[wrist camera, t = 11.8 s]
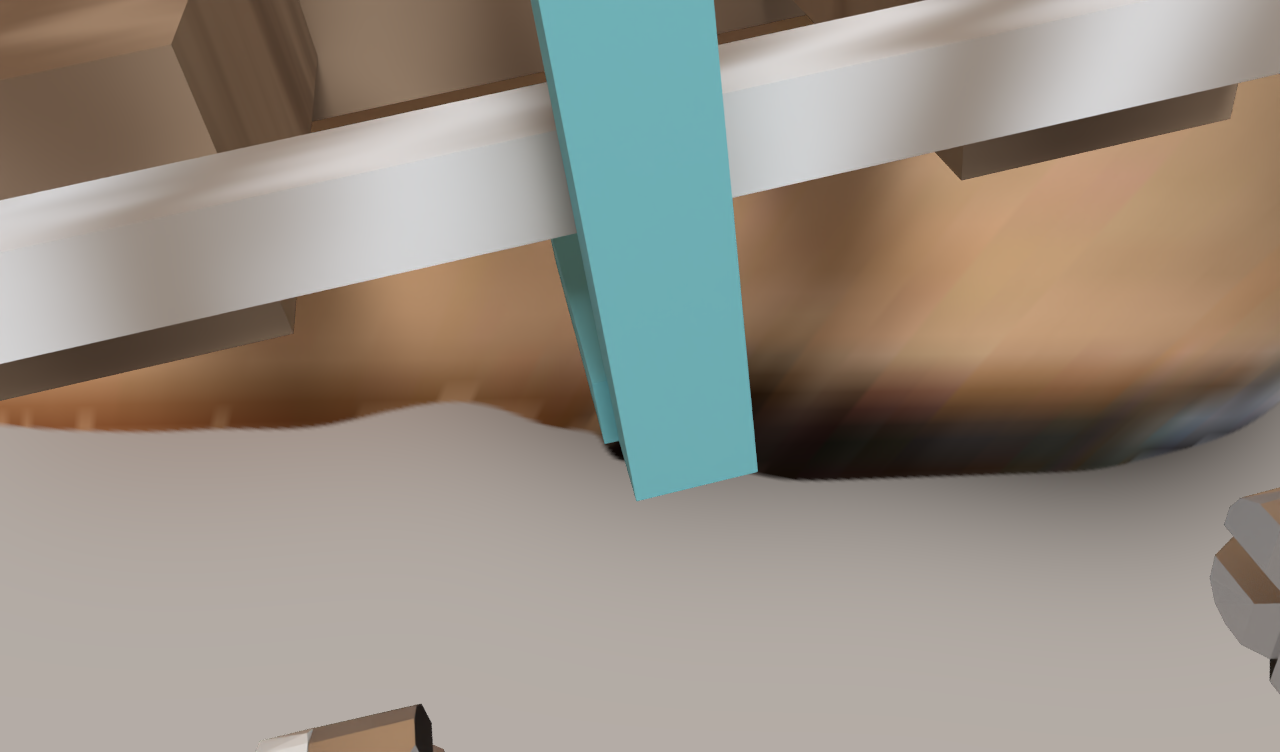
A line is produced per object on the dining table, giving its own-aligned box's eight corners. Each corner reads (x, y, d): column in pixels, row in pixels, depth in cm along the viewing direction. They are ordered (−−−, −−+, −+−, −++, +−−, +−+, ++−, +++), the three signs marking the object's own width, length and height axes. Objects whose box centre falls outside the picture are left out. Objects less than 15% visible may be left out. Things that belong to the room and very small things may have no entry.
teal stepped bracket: (598, -284, 21) (719, -193, 14) (669, 235, 28) (772, 467, 21) (443, -254, 20) (485, -147, 13) (555, 261, 28) (621, 505, 21)
